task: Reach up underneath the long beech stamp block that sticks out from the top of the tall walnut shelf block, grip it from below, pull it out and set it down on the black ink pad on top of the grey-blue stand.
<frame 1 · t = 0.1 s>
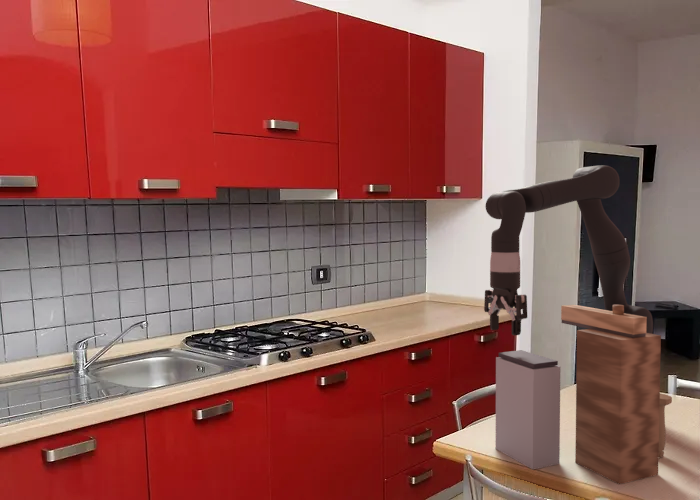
hand: (504, 332, 154), 29 cm above the table, tool pointing down, fingers open, 8 cm apart
stamp: (600, 329, 142), point 32 cm above the table, touching shelf block
shelf block: (615, 468, 140), on the table
handle: (655, 456, 147), on the table
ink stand: (526, 455, 147), on the table
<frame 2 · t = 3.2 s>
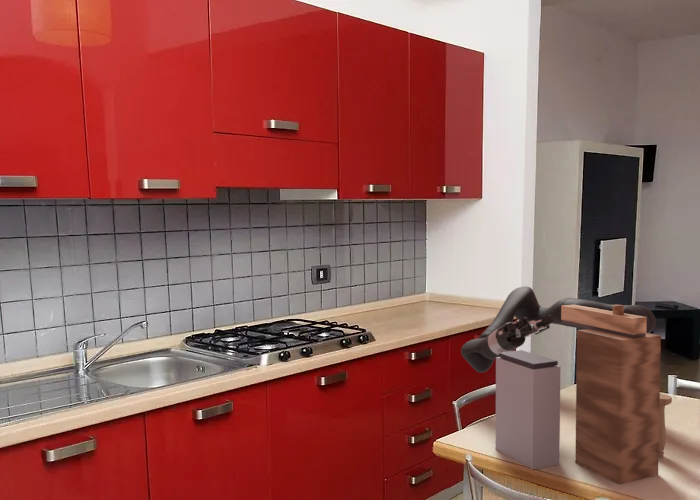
hand: (539, 319, 163), 31 cm above the table, tool pointing upward, fingers open, 8 cm apart
nothing on the table moved.
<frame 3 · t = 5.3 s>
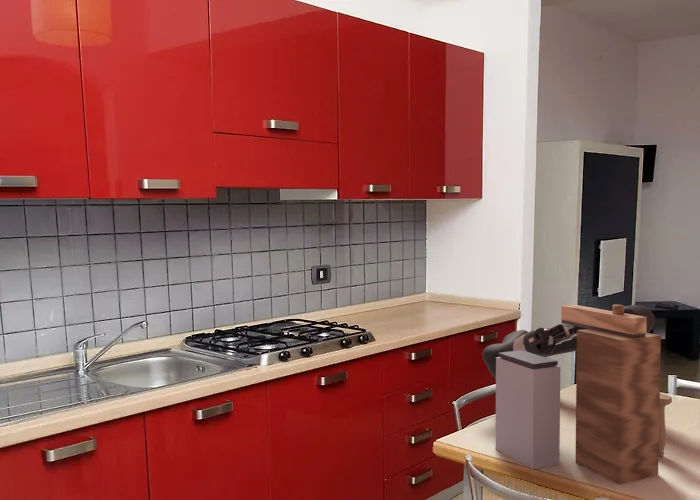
hand: (574, 326, 151), 31 cm above the table, tool pointing upward, fingers open, 8 cm apart
nothing on the table moved.
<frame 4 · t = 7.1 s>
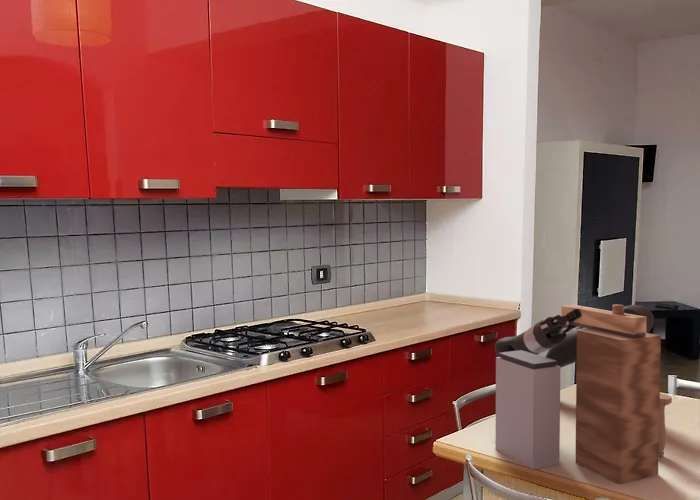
hand: (586, 311, 147), 36 cm above the table, tool pointing upward, fingers closed on stamp, 4 cm apart
stamp: (600, 329, 142), point 32 cm above the table, touching gripper, shelf block
everything else where it was.
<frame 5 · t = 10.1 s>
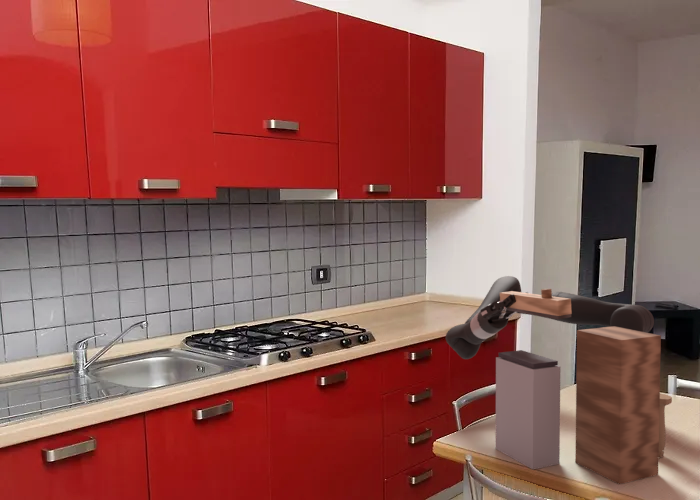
hand: (521, 296, 155), 38 cm above the table, tool pointing upward, fingers closed on stamp, 4 cm apart
stamp: (533, 312, 151), point 35 cm above the table, touching gripper
everything else where it was.
when the fingers open (29 cm above the table, at t = 12.9 s): stamp stays where it is, resting on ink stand.
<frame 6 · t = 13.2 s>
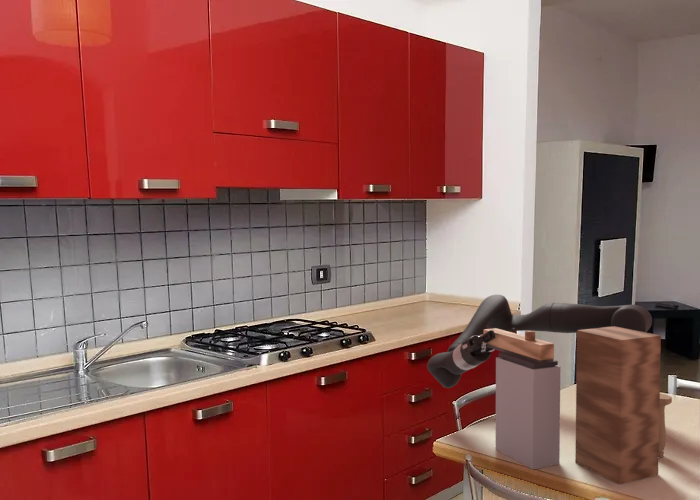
hand: (504, 332, 154), 29 cm above the table, tool pointing upward, fingers open, 6 cm apart
stamp: (516, 353, 150), point 25 cm above the table, touching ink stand
everything else where it was.
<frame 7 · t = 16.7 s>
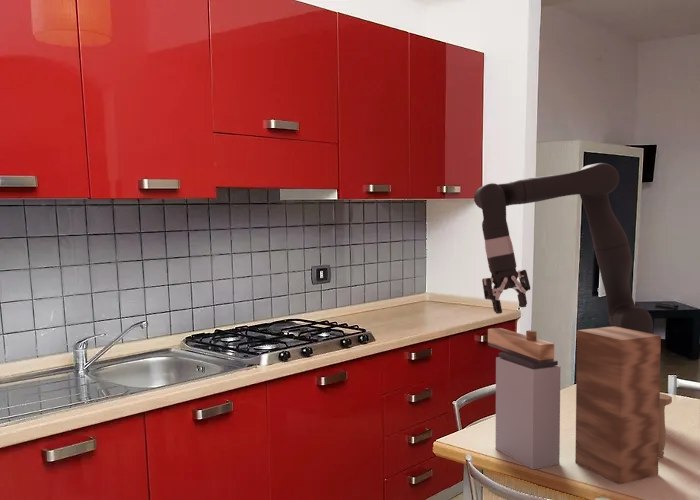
hand: (511, 310, 168), 33 cm above the table, tool pointing down, fingers open, 8 cm apart
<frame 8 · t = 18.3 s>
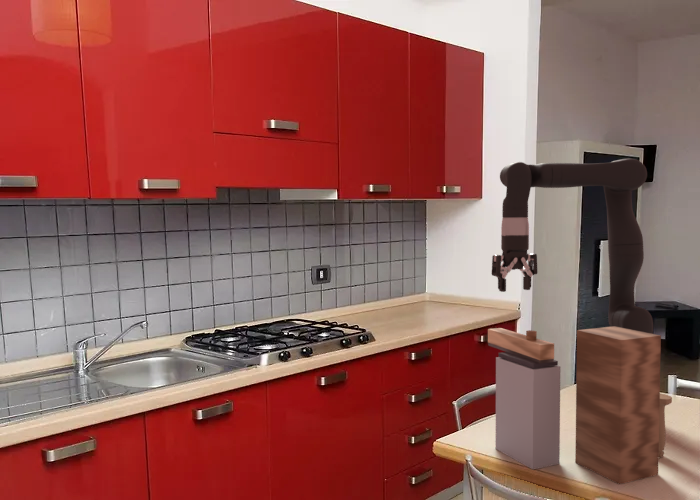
hand: (514, 290, 170), 38 cm above the table, tool pointing down, fingers open, 8 cm apart
nothing on the table moved.
at the end: stamp inside the target area (3.1 cm from its centre), point 24.7 cm above the table; stamp tilted 0°; the gripper is holding nothing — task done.
